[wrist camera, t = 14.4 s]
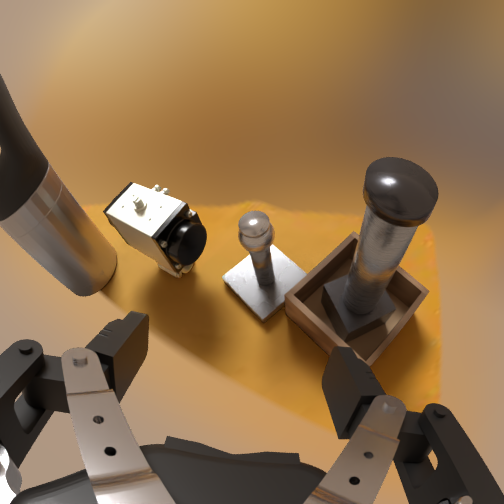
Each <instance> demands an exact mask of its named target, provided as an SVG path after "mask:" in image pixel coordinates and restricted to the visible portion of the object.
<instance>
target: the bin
mask: <svg viewBox="0 0 504 504" xmlns="http://www.w3.org/2000/svg"><path fill="white" fill-rule="evenodd" d="M358 239H359V235H358V234H357V233H356V232H354V231H353V232H352V233H351V234H350V235H349V236H348V237H347V238H346V239H345V240H344V241H343V242H342V243H341V244H340V245H339V246H338V247H337V248H335V249H334V250H333V251H332V252H331V253H330V254H329V255H328V256H327V257H326V258H325V259H324V260H323V261H321V262H320V263H319V264H318V265H317V266H316V267H315V268H314V269H313V270H312V271H310V272H309V273H308V274H307V275H306V276H305V277H304V278H303V279H302V280H300V281H299V282H298V283H297V284H296V285H295V286H294V287H293V288H291V289H290V290H289V291H288V292H287V293H286V294H285V295H284V298H285V309H286V315H287V316H288V317H289V318H290V319H291V320H292V321H293V322H294V323H295V324H296V325H297V326H299V327H300V328H301V329H302V330H303V331H304V332H305V333H306V334H307V335H308V336H309V337H310V338H311V339H312V340H313V341H314V342H315V343H316V344H317V345H318V346H319V347H321V348H322V349H323V350H324V351H325V352H326V353H327V354H328V355H329V356H330V354H331V351H332V349H333V347H334V346H342V347H351V348H352V349H353V351H354V353H355V354H356V356H357V358H358V359H361V360H363V361H364V362H365V363H366V364H368V366H369V367H370V366H371V365H372V364H373V363H374V361H375V360H376V359H377V358H378V357H379V356H380V355H381V353H382V352H383V351H384V350H385V349H386V348H387V346H388V345H389V344H390V343H391V342H392V340H393V339H394V338H395V337H396V335H397V334H398V333H399V332H400V330H401V329H402V328H403V327H404V325H405V324H406V323H407V321H408V320H409V319H410V317H411V316H412V315H413V313H414V312H415V311H416V309H417V308H418V307H419V305H420V304H421V302H422V301H423V300H424V298H425V297H426V295H427V294H428V293H429V290H427V289H426V288H425V287H424V286H423V285H421V284H420V283H419V282H418V281H417V280H415V279H414V278H413V277H412V276H411V275H409V274H408V273H407V272H406V271H405V270H403V269H402V268H401V267H400V266H398V267H397V269H396V271H395V273H394V275H393V277H392V279H391V280H390V282H389V284H388V286H387V288H386V289H385V290H386V292H387V293H388V295H389V297H390V298H391V300H392V302H393V304H394V305H395V307H396V310H395V311H394V313H393V314H392V315H391V317H390V318H389V319H388V321H387V322H386V323H385V324H383V325H381V326H380V327H378V328H376V329H374V330H372V331H370V332H368V333H366V334H364V335H362V336H360V337H358V338H356V339H354V340H351V341H349V342H347V343H345V342H344V341H343V340H342V339H341V338H340V337H339V336H337V334H336V332H335V330H334V328H333V326H332V323H331V321H330V319H329V317H328V315H327V313H326V311H325V309H324V307H323V305H322V303H321V298H322V292H323V286H324V284H326V283H329V282H331V281H334V280H336V279H338V278H341V277H343V276H345V275H348V274H349V271H350V268H351V264H352V261H353V257H354V254H355V250H356V246H357V243H358Z"/></svg>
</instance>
